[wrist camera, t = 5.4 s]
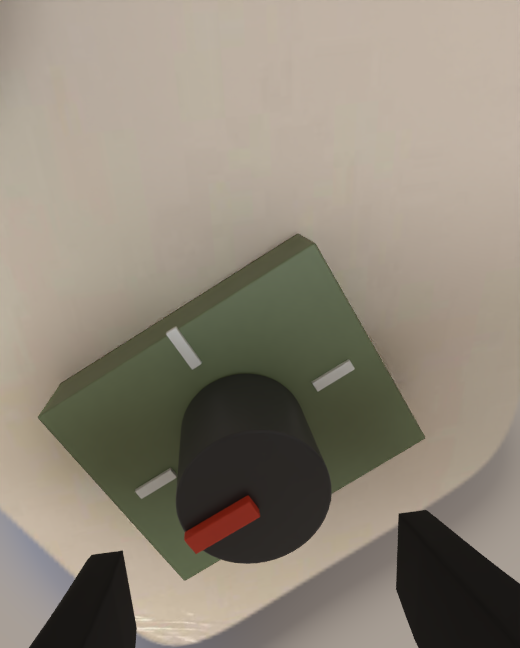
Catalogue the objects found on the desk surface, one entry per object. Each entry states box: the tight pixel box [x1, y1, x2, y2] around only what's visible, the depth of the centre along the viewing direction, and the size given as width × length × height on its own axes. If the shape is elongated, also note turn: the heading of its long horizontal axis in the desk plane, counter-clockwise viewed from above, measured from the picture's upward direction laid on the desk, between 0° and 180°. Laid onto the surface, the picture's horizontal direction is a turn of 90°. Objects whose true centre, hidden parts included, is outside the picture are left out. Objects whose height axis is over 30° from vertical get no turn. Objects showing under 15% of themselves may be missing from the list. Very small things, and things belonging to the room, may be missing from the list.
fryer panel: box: [38, 234, 425, 580], centre depth 17 cm, size 10×8×3 cm
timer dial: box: [176, 374, 332, 564], centre depth 14 cm, size 4×4×4 cm
